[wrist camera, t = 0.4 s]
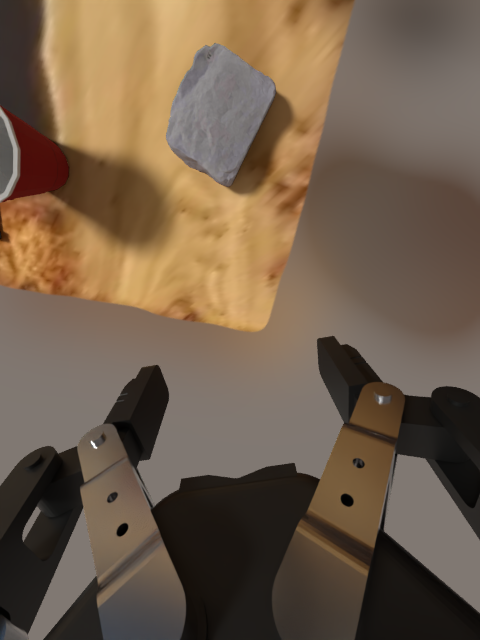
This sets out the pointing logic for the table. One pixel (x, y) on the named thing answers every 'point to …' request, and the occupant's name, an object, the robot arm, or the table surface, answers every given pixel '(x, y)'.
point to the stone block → (218, 112)
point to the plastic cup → (28, 160)
